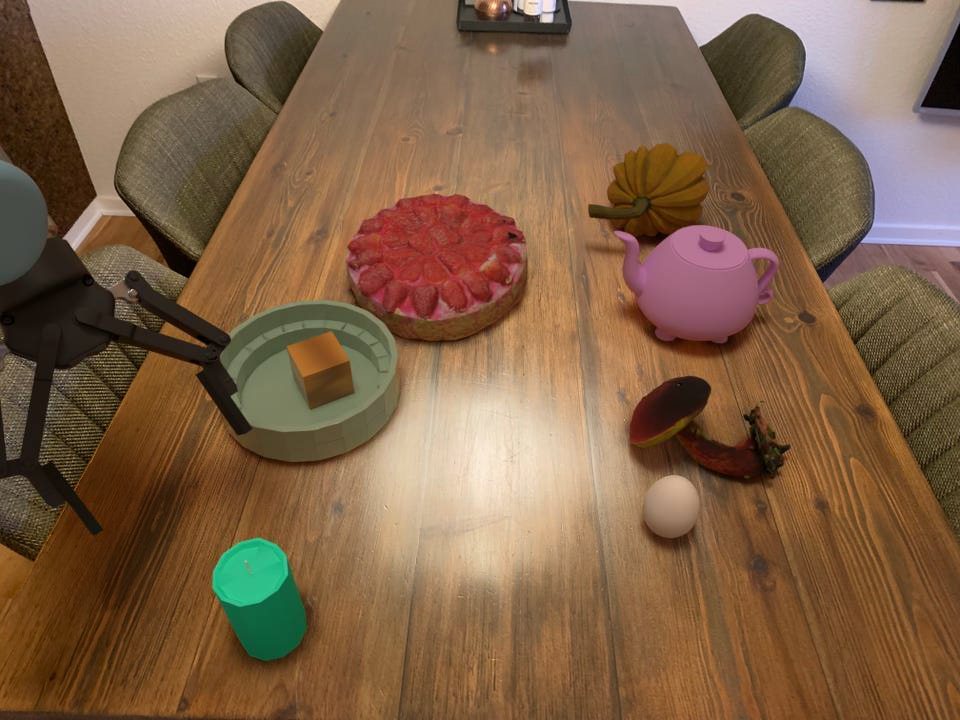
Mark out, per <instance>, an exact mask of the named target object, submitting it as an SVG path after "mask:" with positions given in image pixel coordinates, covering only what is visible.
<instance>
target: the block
mask: <svg viewBox="0 0 960 720" xmlns="http://www.w3.org/2000/svg"><path fill="white" fill-rule="evenodd" d="M286 348H287V352H288V356H289V360H290V365H291V369H292V373H293V377H294V380H295V382H296V384H297V386H298V388H299V390H300V392H301V394H302V396H303V397H304V399H305V401H306V403H307V405H308V407H309V409H310V410H311V409H314V408H316V407H319V406H321V405H324V404H327V403H329V402H332V401H335V400H337V399H340V398H343V397H345V396H348V395H350V394H353V393H354V386H353V379H352V373H351V366H350V360H349V358H348V357H347V355H346V354H345V352H344V350H343V349H342V347H341V345H340V344H339V342H338V340H337V339H336V337H335V336H334V334H333V332H332V331H330V332H327V333H324V334H321V335H318V336H315V337H313V338H310V339H307V340H304V341H301V342H298V343H295V344H292V345H289V346H287V347H286Z"/></svg>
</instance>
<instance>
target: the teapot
mask: <svg viewBox="0 0 960 720" xmlns="http://www.w3.org/2000/svg"><path fill="white" fill-rule="evenodd" d="M613 234H614V236H616V237H617V238H618V239H619V240H620V241H621V242H622V243H623V245H624V249H625V250H624V257H623V261H622V269H621V270H622V278H623V280H624V283H625V285H626V286H627V288H628V289H629V290H630V292H632V293H633V294H634V299H635V302H636V303H637V306H638V308H639V309H640V310H641V312H642V313H643V315H644V316H645V317H646V318H647V320H648V321H649V322H650V323H651V324H653V325H654V326H655V327H656V329H655V331H654V333H655V336H656V337H657V338H658V339H660V340H661V341H664V342H671V341H674V340H675V339H676V338H678V339H682V340H687V341H694V342H709V341H710V342H713V343H715V344H724V343H726V342H728V339H729V338H728V337H730V336H732V335H735V334H737V333H739V332H740V331H742V330H744V329H745V328H746V327H747V326H748V325H749V324H750V323H751V321H752V320H753V318H754V316H755V313H756V311H757V307H758V306H763V305H766V304H768V303H770V302H771V301H772V300H773V297H774V290H773V288H772V287H771V286H769V285H770V283H771V282H773V280H774V278H775V277H776V275H777V273H778V271H779V269H780V260H779V258H778V256H777V254H776V253H775V252H773V251H772V250H770V249H768V248H767V247H766V248H765V247H753V248H749V249H748V248H747V246H746V244H745V242H743V240H742V239H740V237H738V236H736V235H735V234H734V233H732V232H731V231H728V230H726V229H723V228H721V227H716V226H712V225H704V224H703V225H702V224H697V225H688V226H683V228H682V229H679V230H677V231H676V232H674V233H673V234H669V235H668V236H667V237H665V238H664V239H663V240H662V241H661V242H659V243H658V245H656V246H655V247H653V249H652V250H651V251H650V252H649V254H648V255H647V256H646V257H645V259H644V260H643V262H642V263H641V264H640V263H639V257H640V244H639V242H638V240H637V238H636V237H633V236H632V235H630V234H628V233H626V232H625V231H622V230H614V231H613ZM753 260H766V261H769V262H770V263H769V265H768V267H767V268H766V270H765V272H763V274H762V275H761V276H760V277H759V279H758V275H757V271H756V267H755V264H754V262H753Z"/></svg>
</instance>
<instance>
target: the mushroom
mask: <svg viewBox="0 0 960 720" xmlns="http://www.w3.org/2000/svg"><path fill="white" fill-rule="evenodd" d="M711 394H712V386H711V385H710V383H709V382H708V381H707V380H706V379H704V378H702V377H700V376H696V375H685V376H678V377H673V378H670V379H667V380H666V381H663V382H662V383H661V384H659V385H658V386H656V387H654V388H653V389H652V390H650V392H649V393H647V394H646V395H644V396H642V397H641V398H640V400H639V402H638V403H637V404H636V406H635V408H634V409H633V412H632V417H631V421H630V424H629V434H628V436H629V438H628V441H629V443H630V444H632V445H634V446H635V447H639V448H644V449H645V448H650V447H655V446H656V445H659V444H660V443H664V442H665V441H667V440H668V439H671V438H672V437H674V436H676V437H677V439H678V440H679V442H680V443H681V445H682V446H683V447H684V449H685V450H686V452H687V453H688V454H689V455H690V456H691V457H692V458H693V459H694V460H695V461H696V462H697V463H698V464H699V465H702V466H703V467H705V468H706V469H709V470H711V471H714V472H717V473H720V474H723V475H727V476H734V477H735V476H737V477H743V478H744V479H750V477H755V478H756V477H757V476H758V475H760V474H767V475H768V476H770V478H771V479H772V480H774V479H775V475H773V474H774V473H775V472H777V471H778V469H779V468H782V467H784V465H785V462H784V460H783V459H782V456H783V454H785V453H786V452H788V451H790V449H791V445H790V444H779V443H777V442H776V441H775V439H776V438H777V436H776V432H775V431H774V430H773V429H771V427H770V425H769V424H767V422H766V420H765V419H764V418H762V411H761V407H760V406H758V405H759V403H763V404H764V403H765V401H764V400H760V401H759V402H758V403H757V404H756V406H755V407H754V408H753V409H751V410H750V412H748V414H747V413H744V414H743V415H742V417H743V419H744V421H746V422H748V424H749V426H750V427H749V432H750V435H749V437H746V439H744V440H743V441H742V442H740V443H739V444H736V445H729V444H726V443H723V442H721V441H718V440H716V439H713V438H712V437H710V436H709V435H708V434H707V433H706V432H705V431H704V430H703V428H702V427H701V425H699V424H698V423H697V422H696V421H695V419H696V418H697V417H698V416H699V415H701V413H702V412H703V411H704V409H705V408H706V406H707V405H708V402H709V398H710V396H711Z"/></svg>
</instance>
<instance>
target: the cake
mask: <svg viewBox="0 0 960 720" xmlns="http://www.w3.org/2000/svg"><path fill="white" fill-rule="evenodd" d="M516 223H517V222H516V219H515V218H514V217H510V216H507V215H505V214H502V213H500V212H498V211H496V210H494V209H493V208H492V207H490V206H489V205H488V204H483V203H480V202H476V201H474V200H473V199H472V198H470V197H468V196H466V195H463V194H457V193H454V194H452V195H442V194H438V193H434V192H433V193H430V194H423V195H418V196H413V197H404V198H399V199H398V200H397V202H396V203H395V204H393V205H391V206H389V207H385V208H382V209H381V210H379V211H378V212H377V213H376V214H375V215H374V216H372V217H370V218H367V219H363V220H362V222H361V224H360V227H359V228H358V230H356V232H355V233H354V235H353V236H352V237H351V239H350V241H349V243H347V246H346V251H345V263H346V277H347V280H348V284H349V286H350V290H351V291H352V292H353V293H354V294H353V295H354V296H355V300H356V304H357V305H358V306H359V308H361V309H364V310H367V311H368V312H370V313H371V314H372V315H374V316H375V317H377V318H378V319H379V320H381V321H382V322H383V323H384V324H385V325H386V327H387V328H388V330H389V331H390V332H391V333H393V334H395V335H397V336H399V337H401V338H403V339H405V340H406V339H407V340H409V339H410V340H411V339H413V340H414V339H419V340H424V341H428V342H439V341H456V340H460V339H463V338H465V337H469V336H472V335H473V334H475V333H478V332H481V330H483V329H484V328H487V327H488V326H490V325H491V324H494V323H495V322H497V321H499V320H500V318H502V317H503V316H504V315H505V314H506V313H507V312H509V311H510V310H511V309H513V307H514V306H515V305H516V304H517V303H518V302H519V301H520V299H521V298H522V296H523V294H524V292H525V288H526V285H527V281H528V276H529V275H528V274H529V273H528V271H529V270H528V269H529V267H528V266H529V263H528V262H529V261H528V259H529V257H528V247H527V240H526V239H527V238H526V236H525V235H524V232H523V231H522V230H520V228H519V227H518V226H517V224H516Z"/></svg>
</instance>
